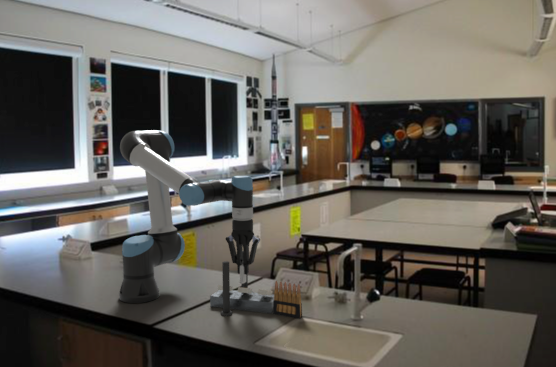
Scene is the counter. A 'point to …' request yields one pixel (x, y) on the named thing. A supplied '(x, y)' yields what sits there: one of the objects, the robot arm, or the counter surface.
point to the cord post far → (246, 278)
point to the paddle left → (220, 287)
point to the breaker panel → (244, 301)
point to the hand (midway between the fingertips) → (243, 282)
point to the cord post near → (226, 290)
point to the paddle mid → (244, 290)
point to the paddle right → (265, 292)
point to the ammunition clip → (287, 301)
